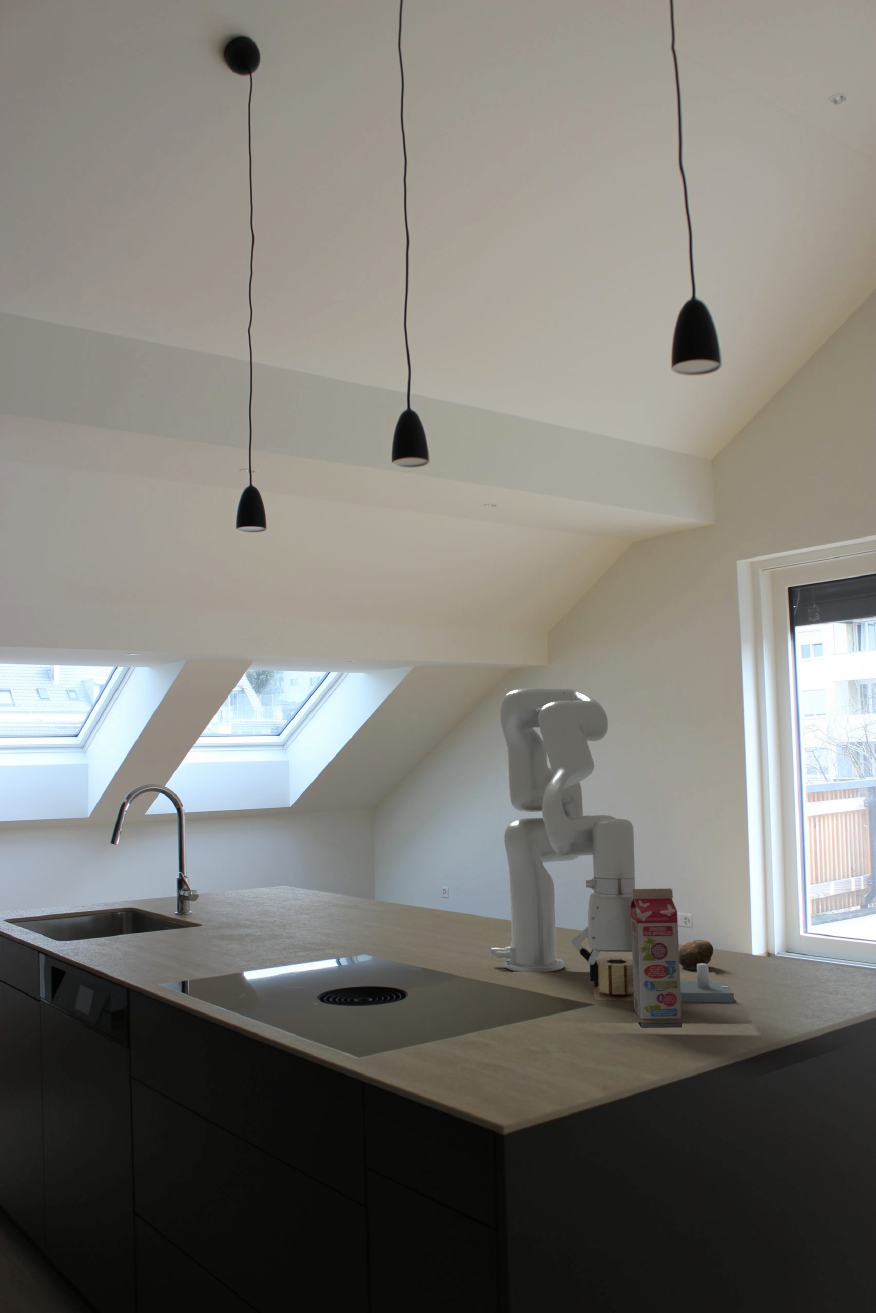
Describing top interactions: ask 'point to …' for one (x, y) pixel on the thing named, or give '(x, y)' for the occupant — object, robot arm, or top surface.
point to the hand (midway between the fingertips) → (617, 984)
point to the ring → (615, 975)
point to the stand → (612, 996)
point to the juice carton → (655, 957)
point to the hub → (705, 988)
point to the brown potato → (695, 954)
